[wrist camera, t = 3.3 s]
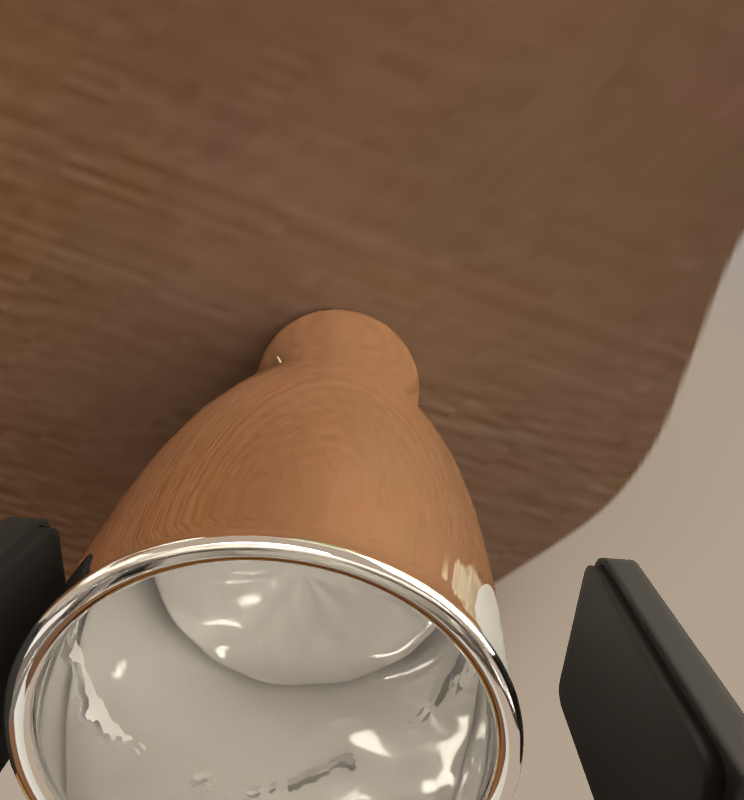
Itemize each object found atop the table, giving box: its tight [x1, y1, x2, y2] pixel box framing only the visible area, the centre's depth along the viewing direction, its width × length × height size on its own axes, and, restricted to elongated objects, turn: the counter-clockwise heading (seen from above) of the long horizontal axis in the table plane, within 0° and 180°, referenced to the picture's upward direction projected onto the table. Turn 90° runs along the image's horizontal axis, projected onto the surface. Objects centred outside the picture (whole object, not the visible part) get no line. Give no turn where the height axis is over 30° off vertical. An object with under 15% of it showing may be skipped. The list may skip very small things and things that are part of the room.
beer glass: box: [3, 309, 524, 800], centre depth 14 cm, size 7×7×15 cm
